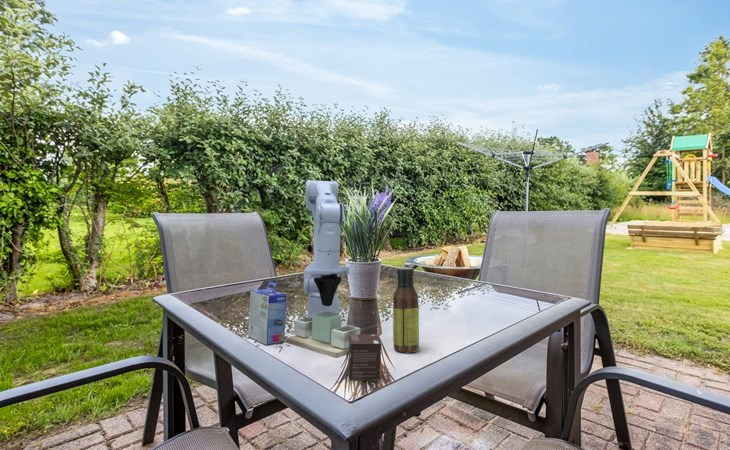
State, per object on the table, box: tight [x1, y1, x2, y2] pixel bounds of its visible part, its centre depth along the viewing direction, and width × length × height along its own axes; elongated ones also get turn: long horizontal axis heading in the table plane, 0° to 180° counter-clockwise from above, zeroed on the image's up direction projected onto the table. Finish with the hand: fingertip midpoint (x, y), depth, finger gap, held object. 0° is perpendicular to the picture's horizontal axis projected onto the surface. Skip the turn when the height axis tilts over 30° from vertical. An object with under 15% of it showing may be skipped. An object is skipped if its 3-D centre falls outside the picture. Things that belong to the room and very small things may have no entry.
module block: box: [312, 311, 342, 343], centre depth 95 cm, size 4×6×6 cm, turn 52°
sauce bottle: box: [392, 266, 420, 353], centre depth 92 cm, size 7×6×20 cm
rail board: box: [285, 317, 361, 359], centre depth 95 cm, size 11×17×5 cm, turn 52°
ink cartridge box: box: [247, 281, 287, 346], centre depth 97 cm, size 10×6×14 cm, turn 44°
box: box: [347, 333, 382, 382], centre depth 76 cm, size 6×6×7 cm
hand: (326, 305), depth 95 cm, fingers closed
